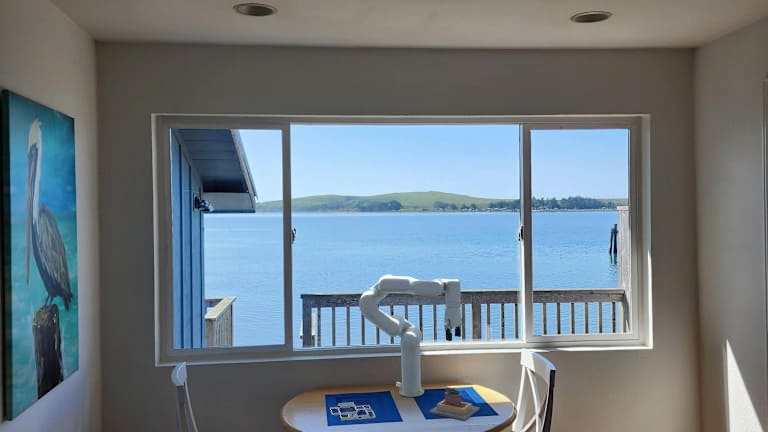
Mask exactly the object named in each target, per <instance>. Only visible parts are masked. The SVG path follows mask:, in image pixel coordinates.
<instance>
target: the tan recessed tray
mask: <svg viewBox="0 0 768 432" xmlns="http://www.w3.org/2000/svg"><path fill="white" fill-rule="evenodd" d="M480 409H481V407H479V406H474V405H473V403H470V402H465V401H461V408H460V407H455V406H450V405H445V398H444V399H442V400H441V401H439V402H438V403H437V404H436V406H435V407H433V408H431V409H430V410H428V414H430V415H436V416H440V417H444V418H450V419H455V420H460V421H465V422H466V421H467V420H468V419H470V418H471V417H473V416H474V415H475V414H476V413H477V412H478V411H480Z"/></svg>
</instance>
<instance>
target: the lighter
mask: <svg viewBox="0 0 768 432" xmlns="http://www.w3.org/2000/svg"><path fill="white" fill-rule="evenodd" d="M459 390H460V389H458V388H455V387H452V388H451V387H448V386H447V387H445V392H443V394H444V399H445V405H450V406H455V407H460V408H461V402H462V393H459V392H460V391H459Z"/></svg>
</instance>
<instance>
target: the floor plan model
mask: <svg viewBox="0 0 768 432" xmlns="http://www.w3.org/2000/svg"><path fill="white" fill-rule="evenodd" d="M338 406H340V407H338ZM364 406H366V407H364ZM350 407H353V408H354V411H345V412H341V411H340V410H341V409H340V408H342V409H351V408H350ZM331 409H336V410H337V412H334V413H333V410H331ZM329 410H331V411H330V414H331V416H332V415H334V416H339V415H340V416H339V418H341V419H340V421H341V422H344V421H345V420H346V421H355V420H358V421H359V420H369V419H376V418H377V417H376V415H375V413H374V410H373V409H372V407H371V406H370V404H363V405H356V404H355V403H354V401H352V402H351V401H350V402H341V403H340V402H339V403H337V406H334V407H329ZM355 410H356V411H355ZM360 410H363V411H364V412H365V413H366V414H361V415H358V414H359V412H360ZM368 412H372V413H371V415H372V416H370V413H368ZM357 413H358V414H357ZM352 414H353V415H352ZM341 415H343V416H347V415H348V416H347V417H342V416H341ZM359 417H361V418H359Z"/></svg>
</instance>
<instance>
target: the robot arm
mask: <svg viewBox="0 0 768 432" xmlns="http://www.w3.org/2000/svg"><path fill="white" fill-rule="evenodd" d="M443 293H444V295H445V297H444V299H445V300H444V303H445V310H444V316H443V317H444V318H443V319H444V322H443V323H444V325H443V326H444V332H445V340H446V341H447V342H448V341H449V342H452V341H453V329H454V337H459V338H461V337H462V322H463V321H462V320H463V318H462V313H461V311H462V310H461V307H462V306H461V304H462V303H461V301H462V300H461V299H462V298H461V281H460V279H457V278H448V279H447V278H442V277H436V278H434V279H432V280H423V279H416V278H414V277H412V276H401V275H400V276H399V275H397V276H396V275H393V274H390V273H389V274H384V275H383V276H381V277H380V278H379V280H378V281H377V282H376V283H375V284H373V285H372V286H371V287H370V288H369V289H368V290H366V291H364V292H363V293H362V295H361V296H360V299H359V306H358V307H359V311H360V314H361V315H362V316H363V318H365V319H366V320H367V321H369V323H371V324H373V325H374V326H375V327H376V328H378V329H380V330H381V331H382V332H383V333H385V334H386V335H388V336H389V337H391V338H392V337H393V338H394V337H395V338H396V337H399V338H400V341H399V342H400V343H399V344H400V355H401V357H400V359H401V382H400V381H396V383H395V387H396V388H399V390H398V394H399V395H401V396H403V397H408V398H409V397H411V398H413V397H414V398H415V397H420V396H422V395H424V393H425V390H424V388H422V382H421V351H420V350H421V347H420V345H421V341H422V340H423V332H422V331H421V329H420V328H419V327H418V326H416V325H415V324H413V323H412V322H410V321H409V320H407V319H406V318H405V317H403V316H402V315H398V314H393V315H391V314H389V313H387V312H386V311H385V310H383V309H382V308H379V307H378V304H379V303H380V302H381V301H382V300H383V299H384V298H385V297H386V296H387V297H388V295H389V294H404V295H405V294H408V295H416V296H424V297H438V296H440V295H442V294H443Z"/></svg>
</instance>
